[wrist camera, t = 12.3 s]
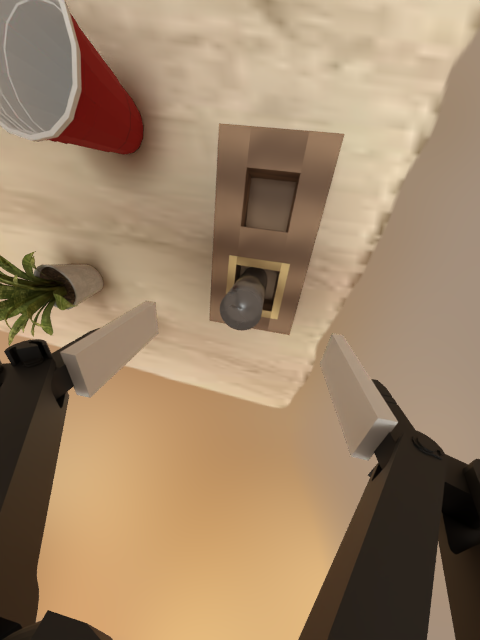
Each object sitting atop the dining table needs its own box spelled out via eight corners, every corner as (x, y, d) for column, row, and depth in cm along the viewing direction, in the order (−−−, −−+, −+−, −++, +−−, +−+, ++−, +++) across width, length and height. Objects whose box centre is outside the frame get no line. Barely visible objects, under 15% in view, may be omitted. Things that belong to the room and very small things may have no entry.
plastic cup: (158, 59, 21) (40, -113, 10) (166, 178, 26) (91, 144, 15) (71, 58, 22) (-117, -98, 12) (94, 172, 27) (-23, 137, 16)
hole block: (229, 143, 23) (218, 122, 19) (330, 152, 22) (345, 133, 18) (218, 308, 33) (209, 321, 29) (287, 320, 32) (289, 335, 27)
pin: (242, 264, 29) (220, 287, 17) (269, 267, 28) (264, 293, 17) (240, 290, 31) (218, 326, 19) (265, 293, 30) (258, 333, 18)
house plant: (124, 239, 31) (-11, 250, 16) (137, 316, 37) (48, 374, 22) (46, 230, 32) (-142, 232, 17) (71, 306, 38) (-53, 354, 24)
